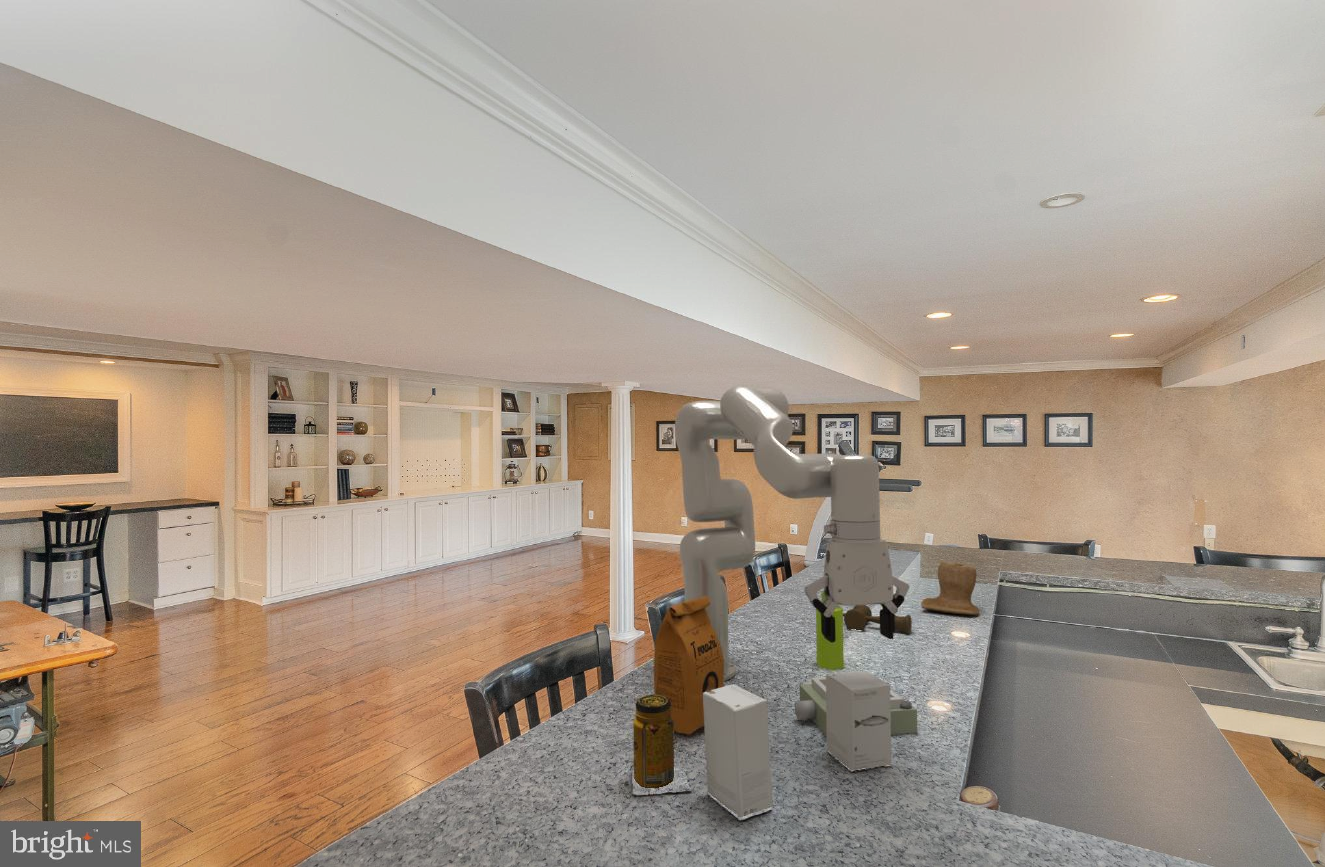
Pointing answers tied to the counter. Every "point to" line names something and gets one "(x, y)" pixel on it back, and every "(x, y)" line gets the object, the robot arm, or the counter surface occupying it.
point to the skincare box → (737, 749)
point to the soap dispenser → (827, 651)
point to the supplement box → (858, 719)
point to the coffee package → (687, 662)
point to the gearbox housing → (815, 708)
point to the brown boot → (954, 589)
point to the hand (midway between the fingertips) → (858, 638)
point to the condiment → (653, 742)
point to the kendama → (872, 619)
